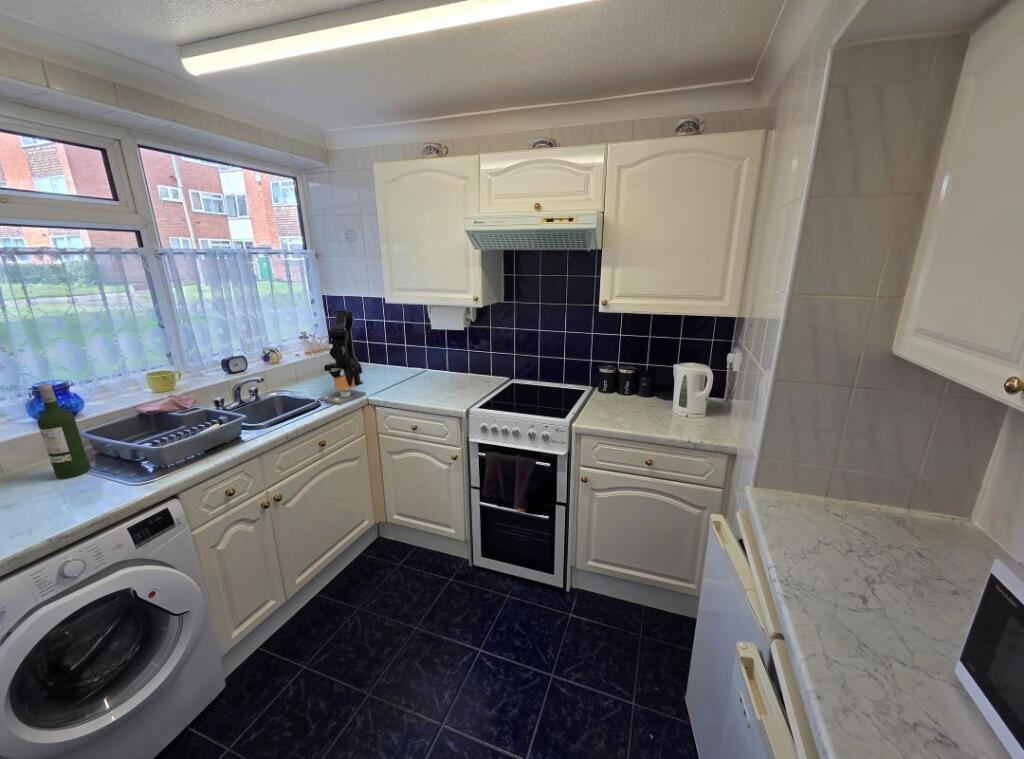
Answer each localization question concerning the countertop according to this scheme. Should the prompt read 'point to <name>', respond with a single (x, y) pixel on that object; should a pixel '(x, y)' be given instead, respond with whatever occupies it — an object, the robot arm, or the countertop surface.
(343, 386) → the lockout cap
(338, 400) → the grey flat panel
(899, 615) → the countertop surface
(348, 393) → the breaker
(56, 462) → the wine bottle
